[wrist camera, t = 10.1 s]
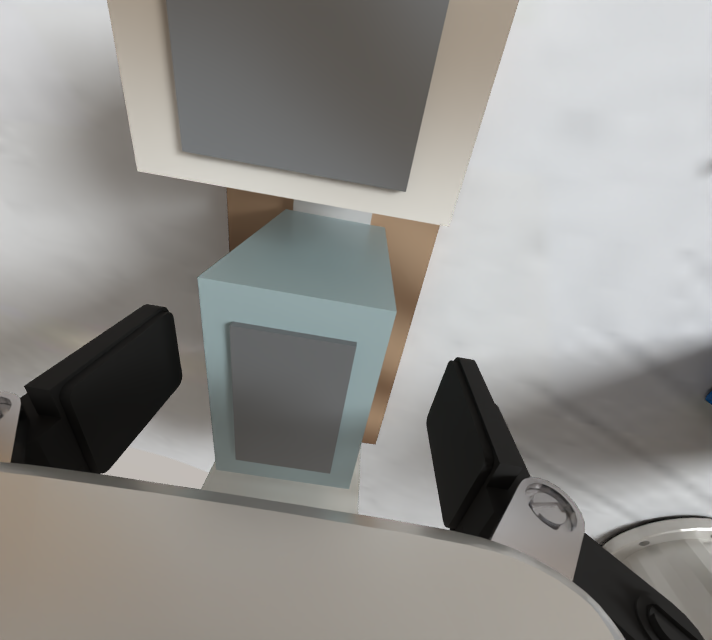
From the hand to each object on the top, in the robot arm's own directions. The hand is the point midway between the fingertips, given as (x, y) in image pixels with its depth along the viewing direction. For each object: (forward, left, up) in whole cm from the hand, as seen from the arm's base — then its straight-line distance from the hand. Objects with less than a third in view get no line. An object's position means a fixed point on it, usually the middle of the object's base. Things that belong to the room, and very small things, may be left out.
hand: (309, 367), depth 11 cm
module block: (0, 0, -6) cm, 6 cm away
